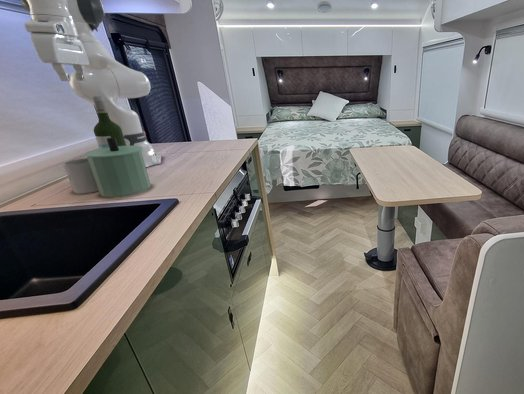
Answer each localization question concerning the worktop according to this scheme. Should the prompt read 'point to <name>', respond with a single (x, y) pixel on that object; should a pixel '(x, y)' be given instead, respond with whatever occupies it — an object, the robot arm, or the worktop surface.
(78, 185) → the mug
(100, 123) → the wine bottle
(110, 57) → the robot arm
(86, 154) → the lid
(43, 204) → the worktop surface
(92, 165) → the canister
